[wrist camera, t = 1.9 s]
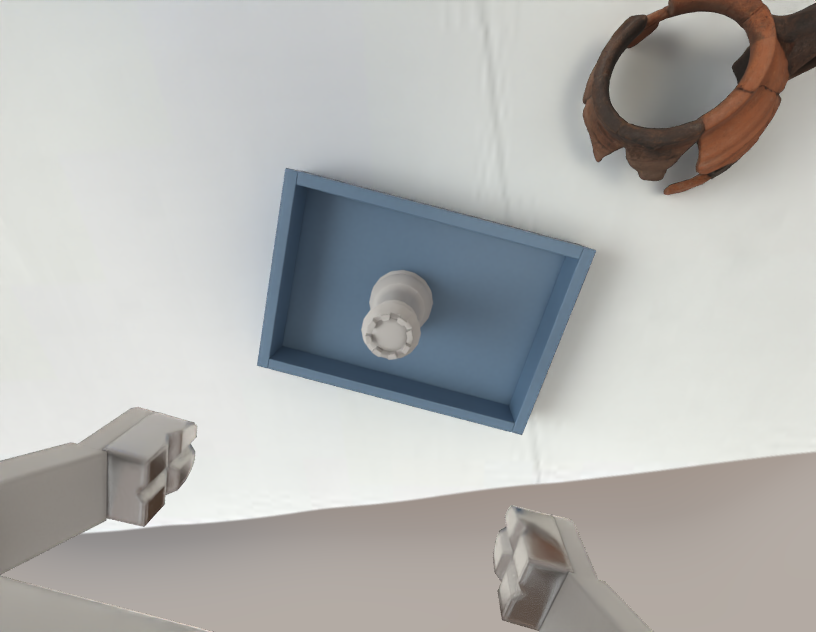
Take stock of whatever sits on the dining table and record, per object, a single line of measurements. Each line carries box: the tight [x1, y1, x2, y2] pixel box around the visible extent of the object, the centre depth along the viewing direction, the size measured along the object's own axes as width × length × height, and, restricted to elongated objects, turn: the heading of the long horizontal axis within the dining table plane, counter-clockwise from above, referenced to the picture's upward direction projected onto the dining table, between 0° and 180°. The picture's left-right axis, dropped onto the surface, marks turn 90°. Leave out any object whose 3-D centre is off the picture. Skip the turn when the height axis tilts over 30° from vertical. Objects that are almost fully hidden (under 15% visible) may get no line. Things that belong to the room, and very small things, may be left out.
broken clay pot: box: [583, 0, 816, 195], centre depth 21 cm, size 12×10×8 cm
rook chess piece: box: [361, 270, 433, 360], centre depth 24 cm, size 4×4×8 cm
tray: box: [257, 168, 596, 435], centre depth 27 cm, size 20×14×3 cm
